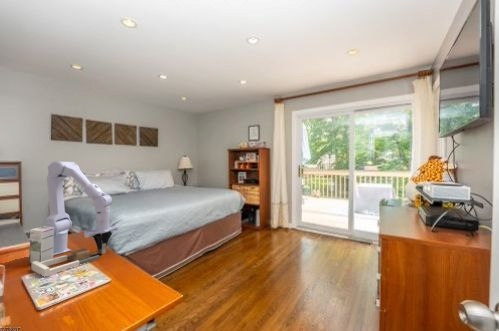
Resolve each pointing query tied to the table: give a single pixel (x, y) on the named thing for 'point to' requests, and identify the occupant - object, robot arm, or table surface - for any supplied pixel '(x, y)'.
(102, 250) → the lopsided dumbbell
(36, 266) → the frame
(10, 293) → the table surface
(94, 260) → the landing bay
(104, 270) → the table surface
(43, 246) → the syrup box
